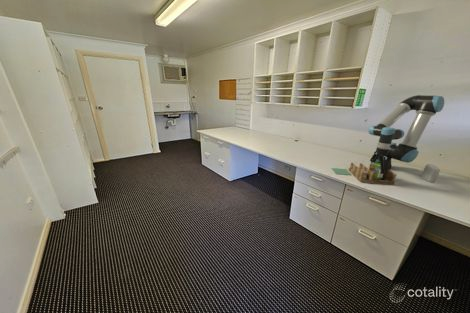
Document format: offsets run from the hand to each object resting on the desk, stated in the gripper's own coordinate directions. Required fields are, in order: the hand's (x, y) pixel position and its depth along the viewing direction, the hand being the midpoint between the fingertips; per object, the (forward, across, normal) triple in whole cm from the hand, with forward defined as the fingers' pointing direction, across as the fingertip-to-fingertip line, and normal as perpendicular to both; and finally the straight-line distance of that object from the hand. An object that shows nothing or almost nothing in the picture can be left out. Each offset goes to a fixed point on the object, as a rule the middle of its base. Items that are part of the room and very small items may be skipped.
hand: (375, 173), depth 146 cm
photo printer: (+4, -4, +40) cm, 41 cm away
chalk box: (+4, 0, 0) cm, 4 cm away
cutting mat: (+4, -7, -22) cm, 24 cm away
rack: (+3, 0, -4) cm, 5 cm away
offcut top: (0, +3, -11) cm, 11 cm away
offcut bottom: (+4, +3, -11) cm, 12 cm away
